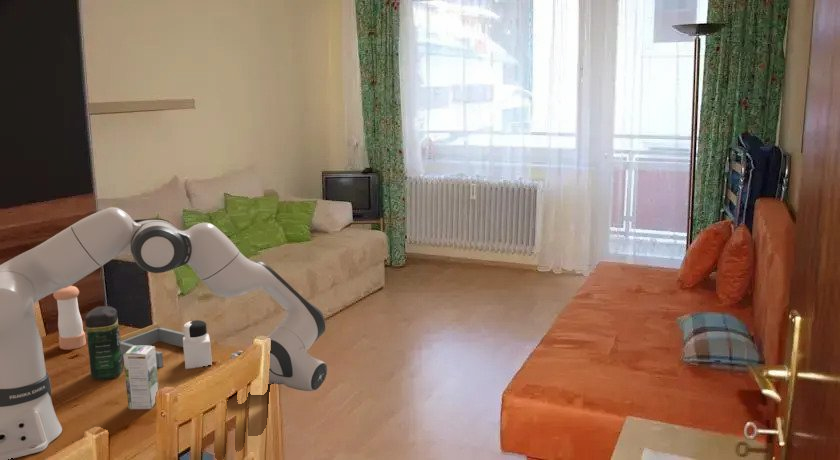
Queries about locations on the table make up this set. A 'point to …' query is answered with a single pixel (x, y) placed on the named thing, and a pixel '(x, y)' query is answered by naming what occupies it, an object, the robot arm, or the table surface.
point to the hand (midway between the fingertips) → (234, 355)
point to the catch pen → (151, 339)
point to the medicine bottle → (196, 345)
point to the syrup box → (141, 376)
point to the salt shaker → (69, 319)
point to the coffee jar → (104, 343)
